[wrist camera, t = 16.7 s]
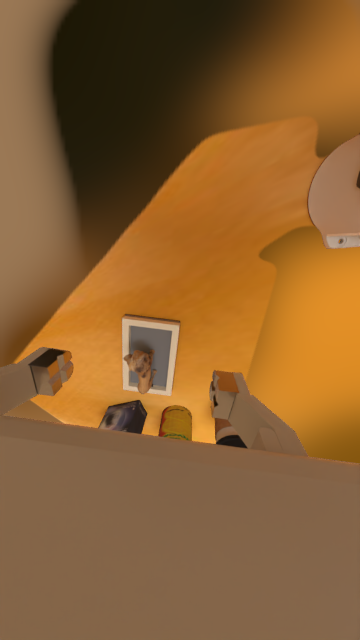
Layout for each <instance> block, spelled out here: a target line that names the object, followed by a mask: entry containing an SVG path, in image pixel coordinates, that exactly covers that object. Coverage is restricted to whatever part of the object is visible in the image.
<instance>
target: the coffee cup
mask: <svg viewBox="0 0 360 640" xmlns="http://www.w3.org/2000/svg"><path fill="white" fill-rule="evenodd" d="M215 439H216V444H218V445H225V446H232V447H240V448H247V446H246V445H245V443H244V442H243V441H242V439H241V438H240V436H239V435H238V434H237V432H236V431H235V429H234V428H233V427H232V425H231V424H230V422H229V421H228V420H226V419H220V418H215ZM247 449H248V448H247Z"/></svg>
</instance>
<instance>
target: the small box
mask: <svg viewBox="0 0 360 640" xmlns="http://www.w3.org/2000/svg"><path fill="white" fill-rule="evenodd" d="M146 416H147V413H146V411H145V409H144V408H143V406H142V404H141V402H140V400H137V401H133V402H128V403H123V404H118V405H113V406H109V408H108V410H107V412H106V414H105V416H104V417H103V419H102V421H101V423H100V425H99V427H98V428H100V429H107V430H115V431H122V432H129V433H137V434H141V433H142V430H143V426H144V422H145V419H146Z"/></svg>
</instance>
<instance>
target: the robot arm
mask: <svg viewBox="0 0 360 640" xmlns="http://www.w3.org/2000/svg"><path fill="white" fill-rule="evenodd" d="M308 208H309V214H310V217H311V219H312V222H313V223H314V225H315V226H316V227H317V228H318V230H319V231H320V232H321V234H322V238H323V243H324V246H325V247H326V248H327V249H334V248H335V249H336V248H348V247H360V134H358V135H357V136H355V137H353V138H352V139H350V140H348V141H346V142H345V143H343V144H342V145H340V146H339V147H338V148H336V149H335V150H334V151H333V152H332V153H331V154H330V155H329V156H328V157H327V158H326V159H325V161H324V162H323V163H322V165H321V166H320V168H319V169H318V171H317V173H316V175H315V177H314V179H313V181H312V184H311V187H310V191H309V198H308ZM339 240H341V241H340V243H338V241H339ZM71 358H72V354H71V352H70V351H66V350H59V349H53V348H52V349H51V348H45V347H42V348H39V349H38V350H36V351H35V352H33V353H32V354H30V355H29V356H27V357H26V358H25V359H23V360H22V361H20V362H19V363H17V364H11V365H8V366H4V367H2V368H0V640H360V464H357V463H349V462H343V461H335V460H328V459H321V458H313V457H308V455H307V453H306V451H305V450H304V448H303V446H302V444H301V442H300V440H299V439H298V437H297V435H296V433H295V431H294V430H292V429H291V428H290V427H289V426H288V425H287V424H286V423H285V422H283V421H282V420H281V419H280V418H279V417H277V416H276V415H275V414H274V413H272V411H271V410H269V409H268V408H267V407H266V406H265V405H264V404H262V403H261V402H260V401H259V400H258V399H257V398H256V397H254V396H253V395H250V393H249V390H248V388H247V385H246V382H245V380H244V377H243V375H242V374H241V373H235V372H224V371H216V370H214V372H213V381H212V382H211V385H210V400H211V401H212V403H211V412H212V417H214V418H220V419H226V420H228V421H229V422H230V424H231V425H232V427H233V428H234V429H235V431H236V432H237V434H238V435H239V436H240V438H241V439H242V441H243V442H244V443H245V445H246V446H247V448H248V449H247V448H240V447H232V446H225V445H218V444H210V443H203V442H195V441H188V440H180V439H173V438H166V437H159V436H151V435H144V434H137V433H129V432H122V431H115V430H107V429H100V428H93V427H85V426H78V425H70V424H63V423H56V422H47V421H41V420H34V419H26V418H19V417H11V416H4V415H3V414H5V413H6V412H8V411H10V410H12V409H13V408H15V407H17V406H19V405H20V404H22V403H24V402H26V401H28V400H29V399H31V398H33V397H35V396H36V395H37V394H40V395H50V396H54V395H55V394H56V393H57V392H58V391H59V390H60V388H61V387H62V383H64V382H66V381H68V379H69V378H70V377H71V375H72V373H73V363H72V362H71V361H70V360H71Z"/></svg>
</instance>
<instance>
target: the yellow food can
mask: <svg viewBox="0 0 360 640" xmlns="http://www.w3.org/2000/svg"><path fill="white" fill-rule="evenodd" d="M158 436H159V437H166V438H173V439H180V440H188V441H192V416H191V413H190V411H189V410H188V409H186V408H185V407H182V406H177V405H174V406H169V407H167V408H166V409H165V410H164V411H163V413H162V418H161V424H160V430H159V435H158Z"/></svg>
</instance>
